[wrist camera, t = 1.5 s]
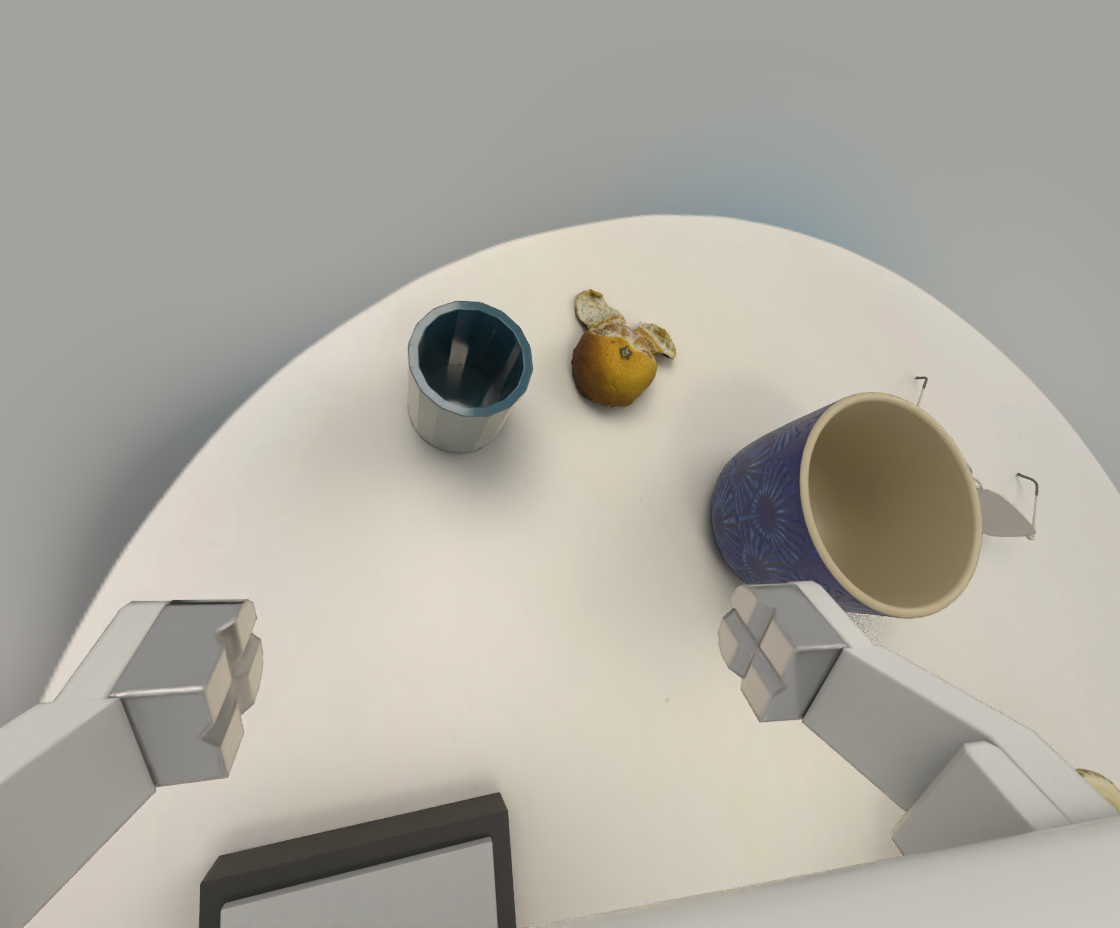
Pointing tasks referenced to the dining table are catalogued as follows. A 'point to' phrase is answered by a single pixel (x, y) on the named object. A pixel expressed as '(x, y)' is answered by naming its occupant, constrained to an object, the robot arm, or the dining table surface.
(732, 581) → the dining table surface
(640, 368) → the fruit
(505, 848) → the scale
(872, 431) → the planter
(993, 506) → the eyeglasses
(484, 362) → the cup
